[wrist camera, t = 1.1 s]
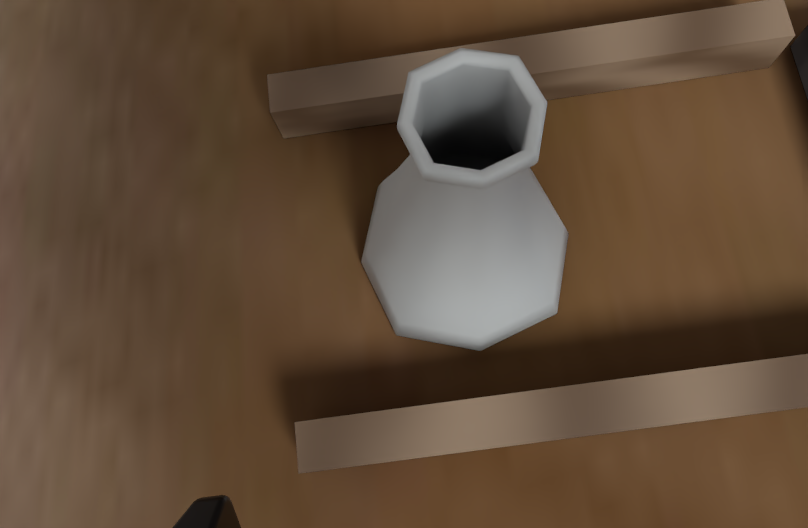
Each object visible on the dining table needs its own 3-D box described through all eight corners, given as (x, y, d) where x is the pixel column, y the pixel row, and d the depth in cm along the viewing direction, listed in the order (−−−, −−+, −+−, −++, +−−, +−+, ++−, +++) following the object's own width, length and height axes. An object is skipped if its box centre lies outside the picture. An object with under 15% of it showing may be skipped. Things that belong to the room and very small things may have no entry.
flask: (373, 366, 23) (317, 303, 14) (351, 170, 25) (289, -7, 16) (588, 337, 23) (685, 252, 13) (548, 141, 25) (608, -56, 15)
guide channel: (757, 32, 25) (783, -3, 24) (871, 398, 22) (912, 392, 20) (280, 102, 26) (266, 74, 24) (311, 472, 22) (298, 473, 20)
